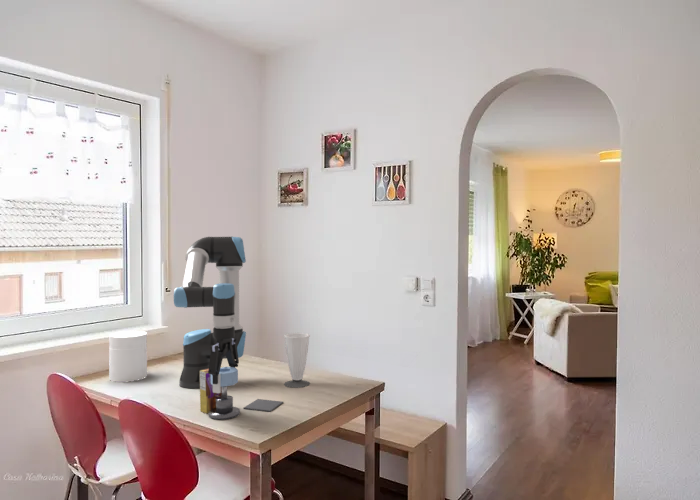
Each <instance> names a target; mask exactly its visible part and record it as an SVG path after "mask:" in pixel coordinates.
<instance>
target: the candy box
mask: <svg viewBox="0 0 700 500" xmlns="http://www.w3.org/2000/svg"><path fill="white" fill-rule="evenodd" d="M221 367H223V366H222V365H221ZM208 371H209V369H205V370H201V371H200V388H199V400H200V404H199V405H200V407H199V408H200V409H199V410H200V412H202V413H203V414H209V411H210V410H211V409H214V408H216V398H217V397H219V396H221V393H213V385H212V384H211V375H210V374H208Z"/></svg>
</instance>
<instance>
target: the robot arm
mask: <svg viewBox="0 0 700 500" xmlns="http://www.w3.org/2000/svg"><path fill="white" fill-rule="evenodd" d="M185 260H186V261H185V262H186V265H185V271H184V275H183V279H182V283H181V286H180V287H179V286H178V287H175V288H174V290H173V304H174V307H176V308H184V309H185V308H186V309H188V308H211V307H212V308H213V313H212V317H213V318H212V326H213V329H212V330H213V331H212V330H211V329H210V328H202V329H196V330H192V331H189V332H187V333H185V334H184V336H183V342H182V343H183V344H182V346H183V347H182V348H183V368H182V370H181V373H180V376H179V380H178V382H179V386H180V387H182V388H186V389H200V371H201V370H205V369H209V371H208V374H212V376H213V393H221V374H219V372H220V368H221V366H222V362H223V361H224V360H225V359H226V360H227V363H228V367H235V368H238V367H239V363H240V361H239V358H242V357H243V356H244V351H245V345H246V336H247V335H246V334H247V332H246V331H245V330H244V328H243V326H242V325H241V324H240V270H241V269H242V268H243V266H244V263H246V262H247V260H246V253H245V247H244V240H243V238H241V237H240V236H204V237H202V238H200V239H198V240H196V241H194V242H193V243H192V244H191V245H190V246H189V247H188V249H187V251H186V254H185ZM207 264H215V267H216V269H218V271H219V276H218V277H219V279H218V280H219V283H215V284H214V285H213V286H203V285H204V278H205V271H206V265H207ZM223 359H224V360H223ZM216 370H217V371H216ZM235 385H236V384H234V385H233V386H235Z"/></svg>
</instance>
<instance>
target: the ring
mask: <svg viewBox="0 0 700 500" xmlns="http://www.w3.org/2000/svg"><path fill="white" fill-rule="evenodd" d="M216 371H217V370H216ZM219 374H221V387H223V386H227V387H229V386H235V385H236V384H237V383H238V382H239V369H237V367H230V366H222V367H221V368H220V372H219ZM210 375H211V384H212V385H213V376H212V374H210ZM234 384H235V385H234Z"/></svg>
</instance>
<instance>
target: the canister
mask: <svg viewBox="0 0 700 500" xmlns="http://www.w3.org/2000/svg"><path fill="white" fill-rule="evenodd" d="M147 343H148V332H146V331H141V330H139V331H138V330H130V331H129V330H128V331H127V330H125V331H118V332H114V333H110V334H109V335H108V347H109V348H108V360H109V361H108V363H109V365H108V368H109V369H108V370H109V371H108V373H109V374H108V375H109V376H108V377H109V378H108V379H110V380H111V381H110V380H109V381H110V382H113V381H116V382H115V383H127V382H126V381H131V382H135V381H134V380H137V381H139V380H138V379H141V380H143V379H145V378H144V377H146V376H147V377H148V344H147ZM147 377H146V378H147ZM142 378H143V379H142Z"/></svg>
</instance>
